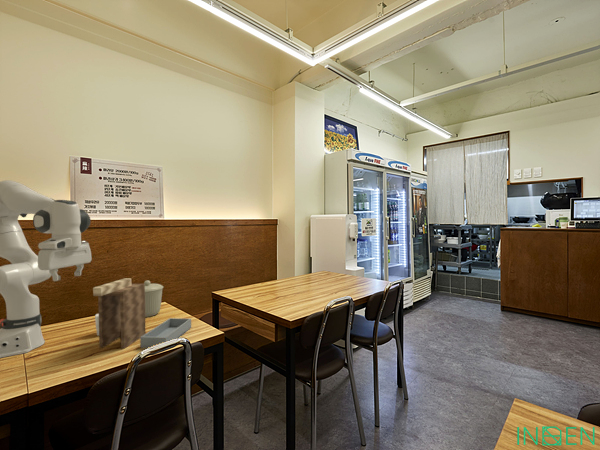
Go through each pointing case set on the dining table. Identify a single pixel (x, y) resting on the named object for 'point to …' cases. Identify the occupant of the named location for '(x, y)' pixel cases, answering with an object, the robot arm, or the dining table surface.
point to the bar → (111, 287)
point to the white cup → (97, 323)
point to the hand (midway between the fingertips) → (67, 278)
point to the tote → (165, 332)
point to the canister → (152, 298)
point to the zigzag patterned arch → (122, 316)
